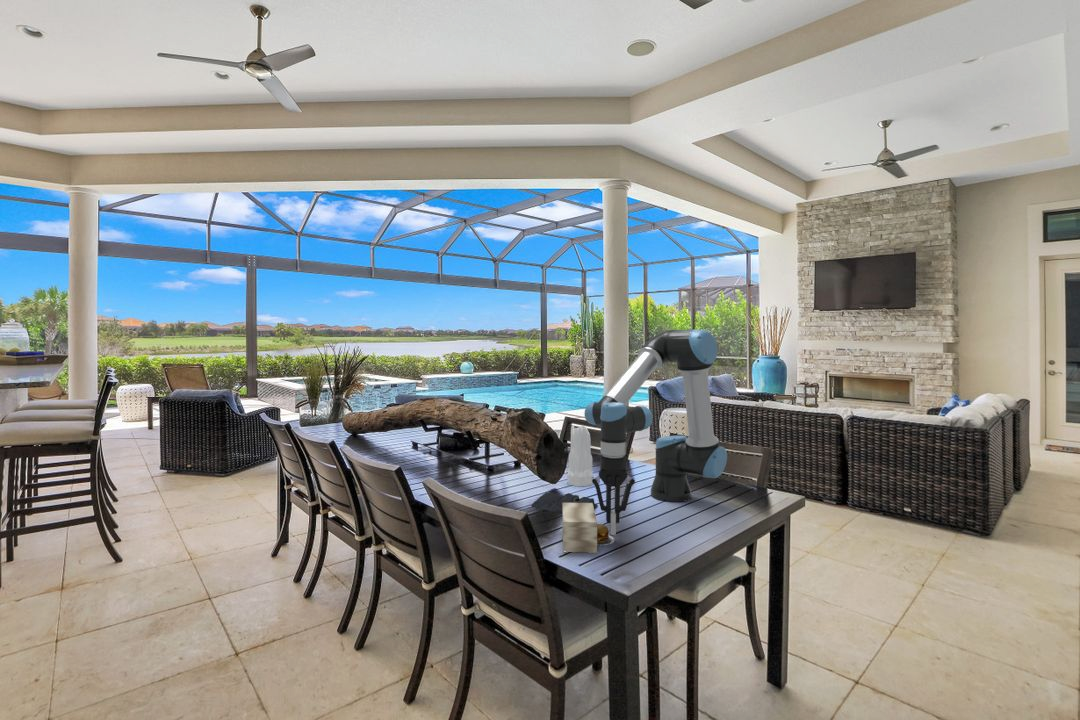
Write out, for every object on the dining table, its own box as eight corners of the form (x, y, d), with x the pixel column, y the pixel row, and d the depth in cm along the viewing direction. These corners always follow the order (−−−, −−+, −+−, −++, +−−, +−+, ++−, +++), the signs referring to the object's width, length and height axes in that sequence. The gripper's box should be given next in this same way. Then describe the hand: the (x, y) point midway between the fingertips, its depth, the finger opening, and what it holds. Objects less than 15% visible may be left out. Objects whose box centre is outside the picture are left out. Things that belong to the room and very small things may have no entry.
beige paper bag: (592, 530, 160) (592, 502, 160) (597, 552, 143) (597, 522, 143) (562, 530, 160) (562, 502, 160) (563, 552, 143) (563, 521, 143)
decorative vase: (568, 478, 220) (568, 421, 219) (593, 479, 218) (593, 422, 217) (566, 486, 209) (566, 425, 208) (592, 487, 207) (592, 426, 206)
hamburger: (576, 535, 157) (576, 518, 157) (614, 534, 158) (614, 516, 158) (583, 551, 145) (583, 532, 145) (624, 550, 147) (624, 531, 146)
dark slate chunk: (551, 497, 196) (551, 485, 195) (601, 508, 183) (601, 495, 183) (527, 507, 183) (527, 494, 183) (579, 520, 170) (579, 506, 170)
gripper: (633, 452, 154) (632, 529, 155) (590, 452, 154) (589, 528, 155) (637, 458, 146) (636, 538, 147) (592, 457, 147) (591, 538, 148)
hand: (612, 533), depth 151 cm, fingers closed
